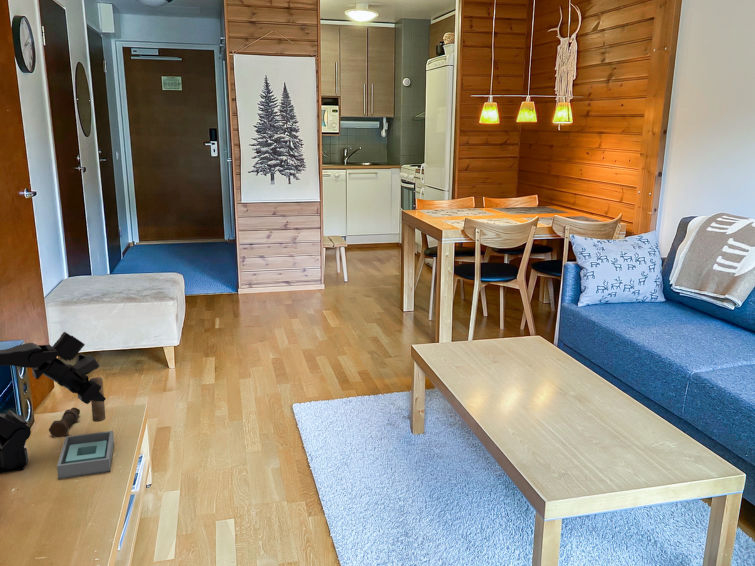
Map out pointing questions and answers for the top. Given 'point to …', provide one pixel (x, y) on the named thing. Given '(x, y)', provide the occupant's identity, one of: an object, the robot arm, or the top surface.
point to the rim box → (86, 455)
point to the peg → (98, 403)
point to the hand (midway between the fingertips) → (102, 397)
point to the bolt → (64, 423)
